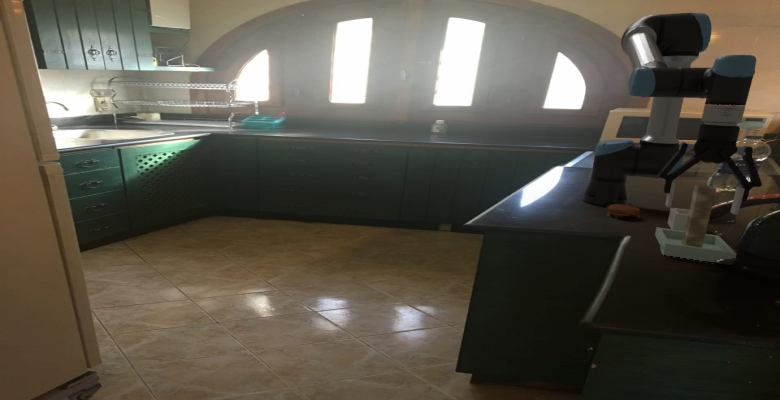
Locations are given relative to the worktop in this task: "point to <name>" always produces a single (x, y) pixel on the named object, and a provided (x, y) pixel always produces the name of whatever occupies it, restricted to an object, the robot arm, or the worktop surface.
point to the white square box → (678, 219)
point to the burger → (623, 212)
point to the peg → (699, 215)
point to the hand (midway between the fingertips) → (700, 209)
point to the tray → (709, 252)
